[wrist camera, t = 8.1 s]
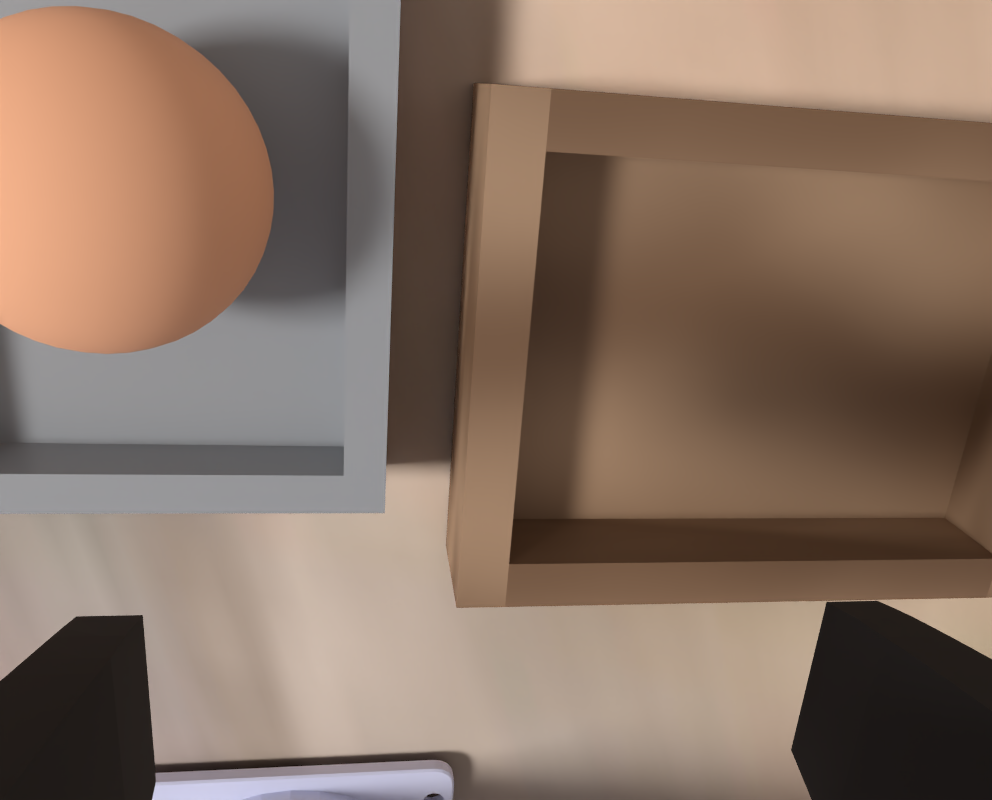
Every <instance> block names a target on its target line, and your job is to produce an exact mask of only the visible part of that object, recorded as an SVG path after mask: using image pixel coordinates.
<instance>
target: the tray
mask: <svg viewBox="0 0 992 800" xmlns="http://www.w3.org/2000/svg"><path fill="white" fill-rule="evenodd" d="M50 6H81V7H90V8H98V9H106V10H111V11H115V12H119V13H122V14H126V15H130V16H133V17H136V18H139V19H141V20H144V21H146V22H149V23H151V24H154V25H156V26H158V27H160V28H162V29H163V30H165V31H167V32H169V33H171V34H173V35H174V36H176V37H178V38H179V39H181V40H182V41H184V42H185V43H187V44H188V45H189V46H191V47H192V48H194V49H195V50H196V51H198V52H199V53H201V54H202V55H203V56H204V57H205V58H206V59H208V60H209V61H210V62H211V63H212V64H213V65H214V66H215V67H216V68H217V69H219V70H220V72H221V73H222V74H223V75H224V76H225V77H226V78H227V80H228V81H229V82H230V83H231V84H232V85H233V86H234V88H235V89H236V90H237V92H238V93H239V95H240V96H241V98H242V99H243V101H244V102H245V104H246V105H247V106H248V108H249V110H250V112H251V114H252V116H253V118H254V120H255V122H256V123H257V125H258V127H259V130H260V132H261V135H262V138H263V140H264V143H265V146H266V148H267V152H268V157H269V161H270V165H271V169H272V178H273V187H274V209H273V218H272V224H271V230H270V234H269V238H268V241H267V244H266V247H265V251H264V254H263V256H262V258H261V260H260V263H259V265H258V267H257V269H256V271H255V273H254V275H253V276H252V278H251V279H250V281H249V282H248V284H247V286H246V287H245V289H244V290H243V291H242V292H241V293H240V295H239V296H238V297H237V298H236V299H235V300H234V302H233V303H232V304H231V305H230V306H229V307H227V308H226V309H225V310H224V311H223V312H222V313H220V314H219V315H218V316H217V317H216V318H215V319H213V320H212V321H211V322H209V323H208V324H206V325H205V326H203V327H202V328H200V329H199V330H197V331H195V332H194V333H192V334H190V335H187V336H185V337H183V338H181V339H179V340H177V341H174V342H171V343H168V344H165V345H161V346H158V347H155V348H151V349H147V350H141V351H136V352H130V353H115V354H100V353H85V352H78V351H73V350H67V349H62V348H57V347H53V346H50V345H47V344H43V343H40V342H37V341H34V340H32V339H30V338H27V337H25V336H23V335H20V334H18V333H16V332H14V331H12V330H10V329H8V328H6V327H5V326H3V325H1V324H0V514H109V513H385V487H386V455H387V423H388V391H389V359H390V327H391V296H392V264H393V232H394V200H395V168H396V137H397V105H398V73H399V41H400V9H401V0H0V19H1V18H3V17H6V16H10V15H13V14H16V13H19V12H23V11H26V10H31V9H37V8H44V7H50Z"/></svg>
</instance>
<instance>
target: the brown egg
mask: <svg viewBox="0 0 992 800" xmlns="http://www.w3.org/2000/svg"><path fill="white" fill-rule="evenodd" d="M273 209H274V187H273V178H272V169H271V165H270V161H269V157H268V152H267V148H266V146H265V143H264V140H263V138H262V135H261V132H260V130H259V127H258V125H257V123H256V122H255V120H254V118H253V116H252V114H251V112H250V110H249V108H248V106H247V105H246V104H245V102H244V101H243V99H242V98H241V96H240V95H239V93H238V92H237V90H236V89H235V88H234V86H233V85H232V84H231V83H230V82H229V81H228V80H227V78H226V77H225V76H224V75H223V74H222V73H221V72H220V70H219V69H217V68H216V67H215V66H214V65H213V64H212V63H211V62H210V61H209V60H208V59H206V58H205V57H204V56H203V55H202V54H201V53H199V52H198V51H196V50H195V49H194V48H192V47H191V46H189V45H188V44H187V43H185V42H184V41H182V40H181V39H179V38H178V37H176V36H174V35H173V34H171V33H169V32H167V31H165V30H163V29H162V28H160V27H158V26H156V25H154V24H151V23H149V22H146V21H144V20H141V19H139V18H136V17H133V16H130V15H126V14H122V13H119V12H115V11H111V10H106V9H98V8H90V7H81V6H50V7H44V8H37V9H31V10H26V11H23V12H19V13H16V14H13V15H10V16H6V17H3V18H1V19H0V324H1V325H3V326H5V327H6V328H8V329H10V330H12V331H14V332H16V333H18V334H20V335H23V336H25V337H27V338H30V339H32V340H34V341H37V342H40V343H43V344H47V345H50V346H53V347H57V348H62V349H67V350H73V351H78V352H85V353H100V354H115V353H130V352H136V351H141V350H147V349H151V348H155V347H158V346H161V345H165V344H168V343H171V342H174V341H177V340H179V339H181V338H183V337H185V336H187V335H190V334H192V333H194V332H195V331H197V330H199V329H200V328H202V327H203V326H205V325H206V324H208V323H209V322H211V321H212V320H213V319H215V318H216V317H217V316H218V315H219V314H220V313H222V312H223V311H224V310H225V309H226V308H227V307H229V306H230V305H231V304H232V303H233V302H234V300H235V299H236V298H237V297H238V296H239V295H240V293H241V292H242V291H243V290H244V289H245V287H246V286H247V284H248V282H249V281H250V279H251V278H252V276H253V275H254V273H255V271H256V269H257V267H258V265H259V263H260V260H261V258H262V256H263V254H264V251H265V247H266V244H267V241H268V238H269V234H270V230H271V224H272V218H273Z"/></svg>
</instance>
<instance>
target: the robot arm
mask: <svg viewBox="0 0 992 800" xmlns="http://www.w3.org/2000/svg"><path fill="white" fill-rule="evenodd" d="M791 751H792V753H793V755H794V758H795V760H796V763H797V765H798V768H799V770H800V772H801V775H802V777H803V780H804V782H805V784H806V787H807V789H808V792H809V794H810V797H811V799H812V800H992V659H990V658H988V657H986V656H985V655H983V654H981V653H979V652H977V651H976V650H974V649H972V648H970V647H968V646H966V645H965V644H963V643H961V642H959V641H957V640H955V639H954V638H952V637H950V636H948V635H946V634H944V633H942V632H940V631H939V630H937V629H935V628H933V627H931V626H929V625H927V624H925V623H923V622H921V621H919V620H917V619H915V618H913V617H911V616H909V615H907V614H905V613H903V612H901V611H899V610H897V609H894V608H892V607H890V606H888V605H885V604H883V603H881V602H878V601H854V602H827V603H826V607H825V611H824V615H823V620H822V624H821V628H820V632H819V636H818V640H817V645H816V649H815V653H814V657H813V661H812V665H811V670H810V674H809V678H808V682H807V686H806V690H805V695H804V699H803V703H802V707H801V711H800V715H799V720H798V724H797V728H796V732H795V736H794V740H793V745H792V749H791ZM453 792H454V779H453V772H452V768H451V767H450V766H449V764H448V763H446V762H444V761H441V760H419V761H398V762H377V763H356V764H335V765H314V766H292V767H271V768H250V769H229V770H208V771H187V772H166V773H155V762H154V749H153V737H152V725H151V713H150V700H149V688H148V676H147V663H146V651H145V639H144V626H143V615H133V616H82V617H75V618H74V619H73V620H72V621H70V622H69V623H68V624H67V625H65V626H64V627H63V628H62V629H61V630H59V631H58V632H57V633H56V634H55V635H53V636H52V637H51V638H50V639H49V640H48V641H46V642H45V643H44V644H43V645H42V646H41V647H39V648H38V649H37V650H36V651H35V652H34V653H32V654H31V655H30V656H29V657H28V658H27V659H26V660H24V661H23V662H22V663H21V664H20V665H19V666H17V667H16V668H15V669H14V670H13V671H12V672H10V673H9V674H8V675H7V676H6V677H5V678H3V679H2V680H1V681H0V800H453ZM433 793H436V794H439V795H438V796H436V797H426V796H427V795H429V794H433Z"/></svg>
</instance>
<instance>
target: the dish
mask: <svg viewBox="0 0 992 800" xmlns="http://www.w3.org/2000/svg"><path fill="white" fill-rule="evenodd" d="M446 548H447V554H448V560H449V566H450V572H451V578H452V583H453V589H454V595H455V601H456V607H457V608H468V607H520V606H572V605H624V604H676V603H728V602H780V601H832V600H884V599H936V598H988V597H992V123H983V122H970V121H958V120H945V119H932V118H920V117H907V116H894V115H881V114H869V113H856V112H843V111H831V110H818V109H805V108H792V107H780V106H767V105H754V104H742V103H729V102H716V101H704V100H691V99H678V98H665V97H653V96H640V95H627V94H615V93H602V92H589V91H576V90H564V89H551V88H538V87H526V86H513V85H500V84H482V83H474V87H473V103H472V120H471V137H470V153H469V170H468V187H467V203H466V220H465V237H464V253H463V270H462V287H461V304H460V320H459V337H458V354H457V370H456V387H455V404H454V420H453V437H452V454H451V470H450V487H449V504H448V520H447V537H446Z"/></svg>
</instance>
